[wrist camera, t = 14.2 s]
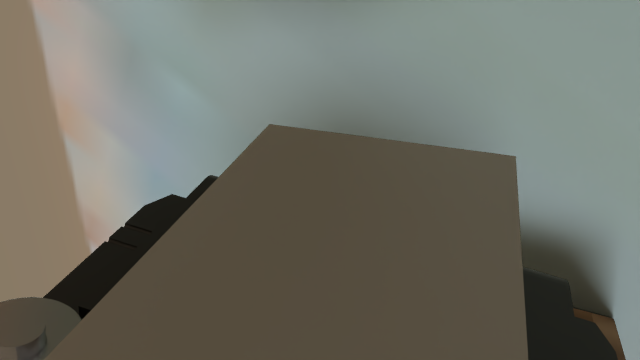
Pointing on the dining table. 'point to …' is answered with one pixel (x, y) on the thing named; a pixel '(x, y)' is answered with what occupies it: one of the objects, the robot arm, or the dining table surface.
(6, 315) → the robot arm
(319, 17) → the dining table surface
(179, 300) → the beige grey block
